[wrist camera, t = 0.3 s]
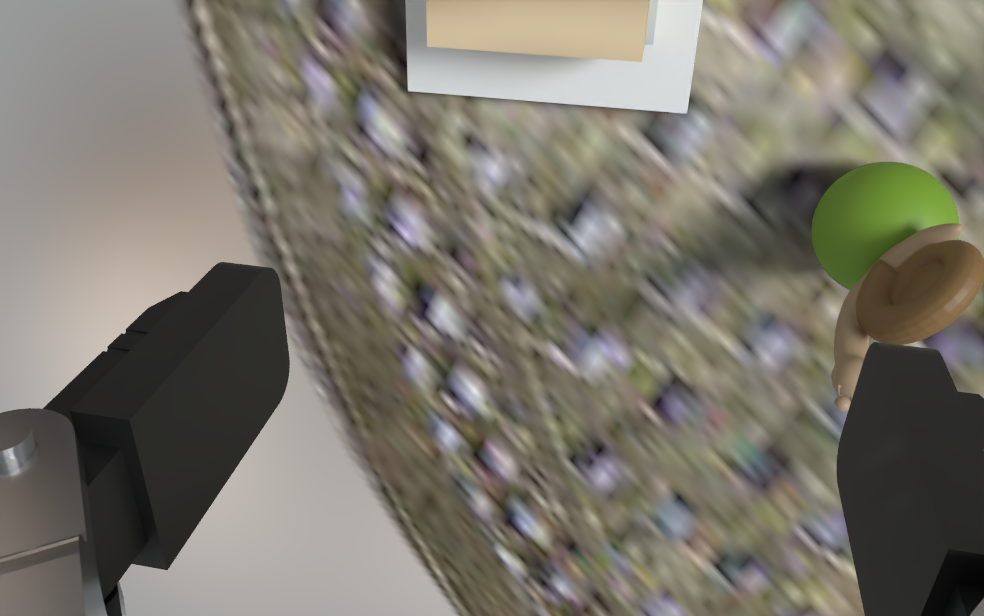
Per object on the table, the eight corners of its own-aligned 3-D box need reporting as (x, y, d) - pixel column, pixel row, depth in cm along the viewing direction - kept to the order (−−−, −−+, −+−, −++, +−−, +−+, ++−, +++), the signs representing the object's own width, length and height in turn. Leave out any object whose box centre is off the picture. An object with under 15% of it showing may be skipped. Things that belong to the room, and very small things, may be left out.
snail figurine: (760, 222, 39) (785, 371, 28) (879, 116, 35) (955, 242, 25) (845, 296, 39) (899, 466, 29) (969, 200, 36) (1077, 353, 26)
